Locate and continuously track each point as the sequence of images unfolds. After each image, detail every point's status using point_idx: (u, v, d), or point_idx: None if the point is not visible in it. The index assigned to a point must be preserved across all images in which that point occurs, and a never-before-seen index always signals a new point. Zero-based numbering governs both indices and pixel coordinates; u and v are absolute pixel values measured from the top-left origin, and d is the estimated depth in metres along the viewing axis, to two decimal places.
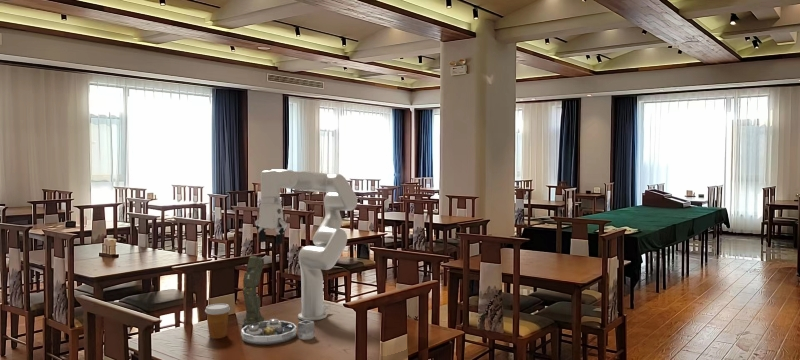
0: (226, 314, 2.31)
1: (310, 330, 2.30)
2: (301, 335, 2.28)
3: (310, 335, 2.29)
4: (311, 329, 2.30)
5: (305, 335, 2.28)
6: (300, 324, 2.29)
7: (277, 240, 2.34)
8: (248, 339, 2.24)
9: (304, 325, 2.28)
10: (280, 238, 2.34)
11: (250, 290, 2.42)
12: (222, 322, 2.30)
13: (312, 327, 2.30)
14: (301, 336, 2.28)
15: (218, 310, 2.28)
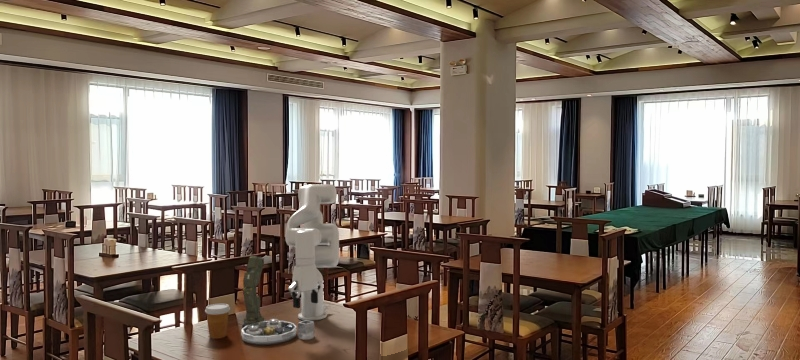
0: (226, 314, 2.31)
1: (310, 330, 2.30)
2: (301, 335, 2.28)
3: (310, 335, 2.29)
4: (311, 329, 2.30)
5: (305, 335, 2.28)
6: (300, 324, 2.29)
7: None
8: (248, 339, 2.24)
9: (304, 325, 2.28)
10: None
11: (250, 290, 2.42)
12: (222, 322, 2.30)
13: (312, 327, 2.30)
14: (301, 336, 2.28)
15: (218, 310, 2.28)
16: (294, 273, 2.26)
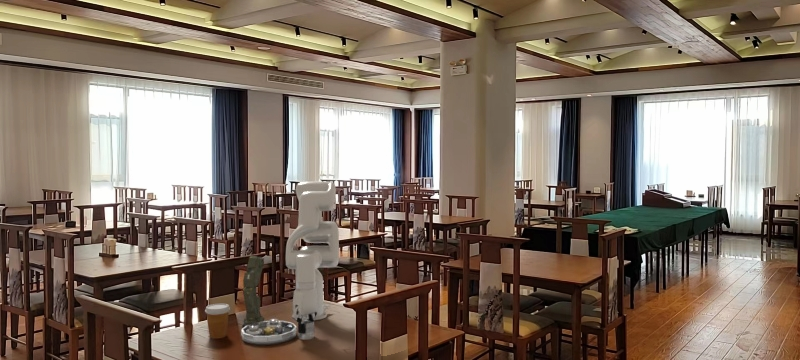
0: (226, 314, 2.31)
1: (310, 330, 2.30)
2: (301, 335, 2.28)
3: (310, 335, 2.29)
4: (311, 329, 2.30)
5: (305, 335, 2.28)
6: None
7: None
8: (248, 339, 2.24)
9: None
10: None
11: (250, 290, 2.42)
12: (222, 322, 2.30)
13: (312, 327, 2.30)
14: (301, 336, 2.28)
15: (218, 310, 2.28)
16: (294, 297, 2.27)
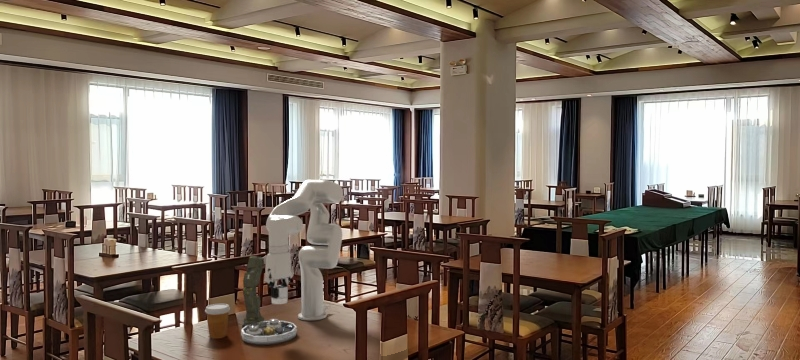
0: (226, 314, 2.31)
1: (284, 294, 2.27)
2: (274, 300, 2.25)
3: (283, 300, 2.26)
4: (284, 294, 2.27)
5: (278, 300, 2.25)
6: None
7: None
8: (248, 339, 2.24)
9: None
10: None
11: (250, 290, 2.42)
12: (222, 322, 2.30)
13: (285, 292, 2.28)
14: (274, 301, 2.25)
15: (218, 310, 2.28)
16: (267, 261, 2.24)
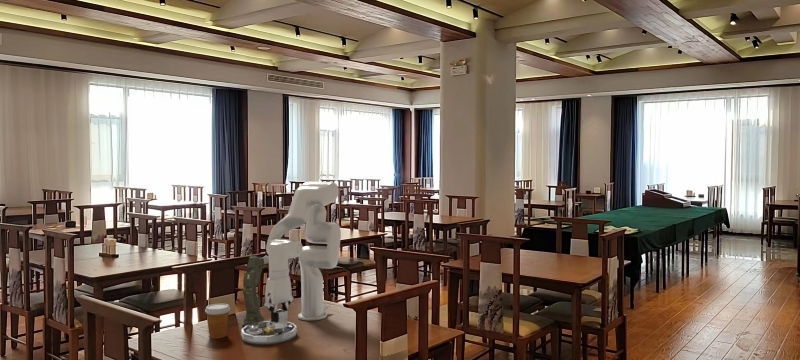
0: (226, 314, 2.31)
1: (284, 319, 2.27)
2: (274, 324, 2.26)
3: (283, 324, 2.26)
4: (284, 318, 2.28)
5: (278, 324, 2.26)
6: None
7: None
8: (248, 339, 2.24)
9: None
10: None
11: (250, 290, 2.42)
12: (222, 322, 2.30)
13: (285, 316, 2.28)
14: (274, 325, 2.26)
15: (218, 310, 2.28)
16: (267, 286, 2.25)
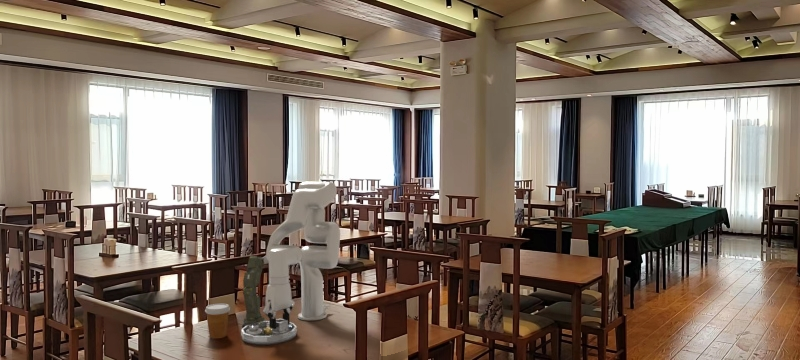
0: (226, 314, 2.31)
1: (284, 328, 2.28)
2: (274, 334, 2.26)
3: None
4: (285, 328, 2.28)
5: (278, 334, 2.26)
6: None
7: None
8: (248, 339, 2.24)
9: (277, 324, 2.26)
10: None
11: (250, 290, 2.42)
12: (222, 322, 2.30)
13: (286, 326, 2.28)
14: None
15: (218, 310, 2.28)
16: (267, 292, 2.25)
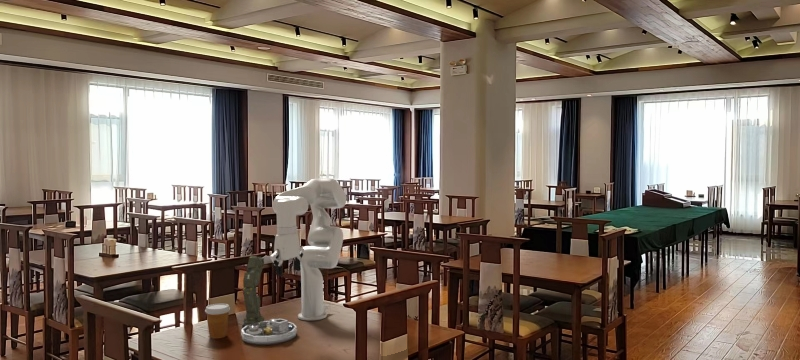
0: (226, 314, 2.31)
1: (284, 328, 2.28)
2: (274, 334, 2.26)
3: None
4: (285, 328, 2.28)
5: (278, 334, 2.26)
6: (273, 323, 2.27)
7: (300, 266, 2.36)
8: (248, 339, 2.24)
9: (277, 324, 2.26)
10: None
11: (250, 290, 2.42)
12: (222, 322, 2.30)
13: (286, 326, 2.28)
14: None
15: (218, 310, 2.28)
16: (276, 242, 2.29)
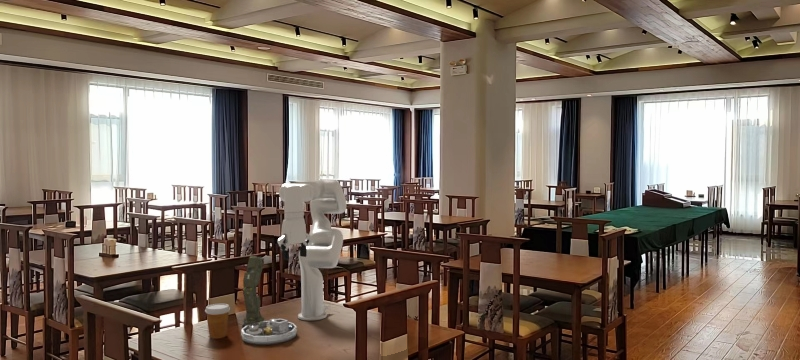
0: (226, 314, 2.31)
1: (284, 328, 2.28)
2: (274, 334, 2.26)
3: None
4: (285, 328, 2.28)
5: (278, 334, 2.26)
6: (273, 323, 2.27)
7: None
8: (248, 339, 2.24)
9: (277, 324, 2.26)
10: None
11: (250, 290, 2.42)
12: (222, 322, 2.30)
13: (286, 326, 2.28)
14: None
15: (218, 310, 2.28)
16: (283, 226, 2.32)
